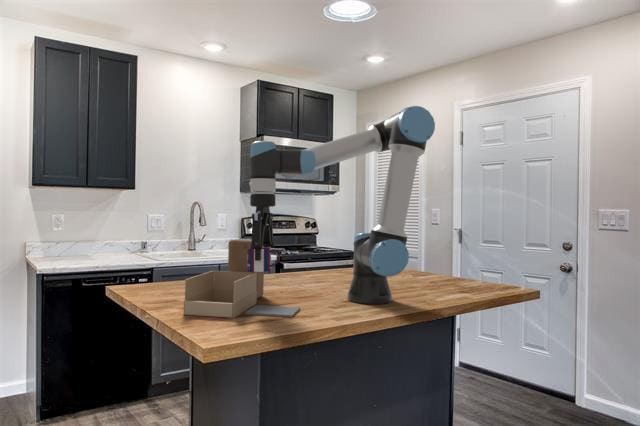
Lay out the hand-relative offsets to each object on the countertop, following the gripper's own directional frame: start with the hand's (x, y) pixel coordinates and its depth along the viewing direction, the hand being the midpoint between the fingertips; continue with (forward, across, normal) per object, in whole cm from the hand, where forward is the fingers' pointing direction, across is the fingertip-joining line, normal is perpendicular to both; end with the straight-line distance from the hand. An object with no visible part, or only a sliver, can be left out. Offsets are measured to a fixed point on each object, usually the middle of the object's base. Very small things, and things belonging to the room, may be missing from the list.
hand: (262, 269), depth 139 cm
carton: (+12, 0, -13) cm, 17 cm away
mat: (+12, 0, +3) cm, 13 cm away
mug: (0, -1, 0) cm, 1 cm away
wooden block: (+12, -18, -12) cm, 25 cm away
